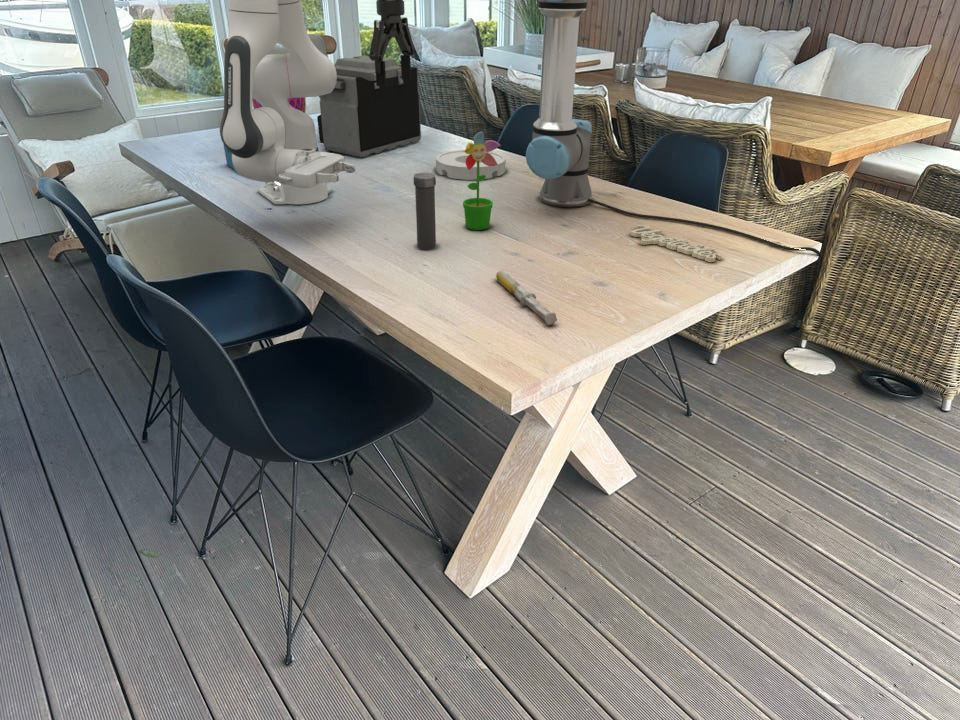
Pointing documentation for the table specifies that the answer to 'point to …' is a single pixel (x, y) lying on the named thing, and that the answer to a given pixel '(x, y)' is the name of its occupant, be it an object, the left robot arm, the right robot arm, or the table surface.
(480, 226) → the potted flower
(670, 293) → the table surface
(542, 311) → the syringe
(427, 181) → the lid
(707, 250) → the decorative sign
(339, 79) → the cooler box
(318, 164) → the left robot arm
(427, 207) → the bottle
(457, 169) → the ashtray
